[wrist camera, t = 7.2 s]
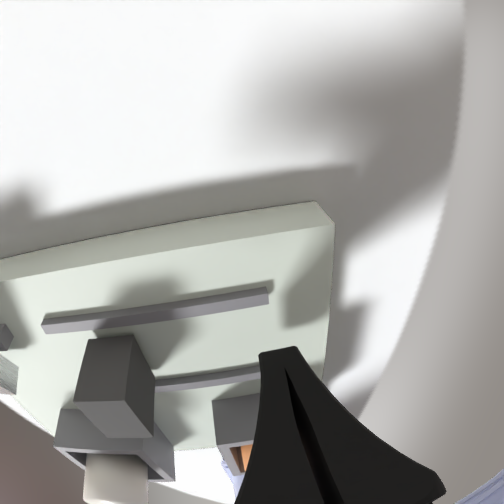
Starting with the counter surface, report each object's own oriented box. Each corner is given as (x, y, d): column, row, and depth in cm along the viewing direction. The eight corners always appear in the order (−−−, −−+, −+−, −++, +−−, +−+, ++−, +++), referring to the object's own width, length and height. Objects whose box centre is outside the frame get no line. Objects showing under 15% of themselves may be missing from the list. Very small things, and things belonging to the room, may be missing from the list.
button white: (156, 470, 15) (158, 513, 12) (104, 469, 14) (102, 510, 12) (133, 449, 13) (132, 500, 10) (75, 447, 12) (70, 493, 10)
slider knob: (155, 377, 12) (153, 437, 10) (114, 380, 12) (107, 438, 10) (133, 334, 11) (124, 400, 8) (88, 339, 11) (72, 401, 8)
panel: (307, 405, 20) (325, 460, 16) (72, 428, 18) (65, 478, 14) (315, 201, 12) (370, 267, 8) (-45, 271, 10) (-88, 330, 6)
